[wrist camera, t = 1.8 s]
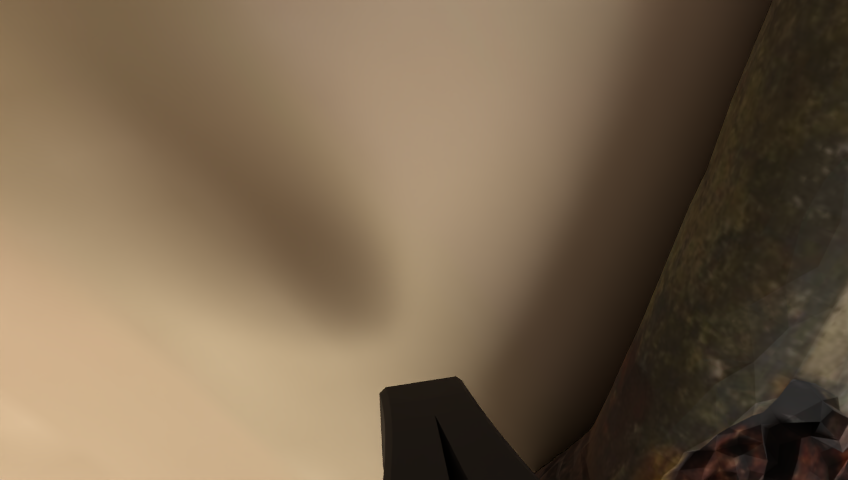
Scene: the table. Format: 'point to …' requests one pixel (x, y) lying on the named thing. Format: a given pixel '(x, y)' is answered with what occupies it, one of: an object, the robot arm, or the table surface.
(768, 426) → the metal pipe
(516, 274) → the table surface
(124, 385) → the table surface
